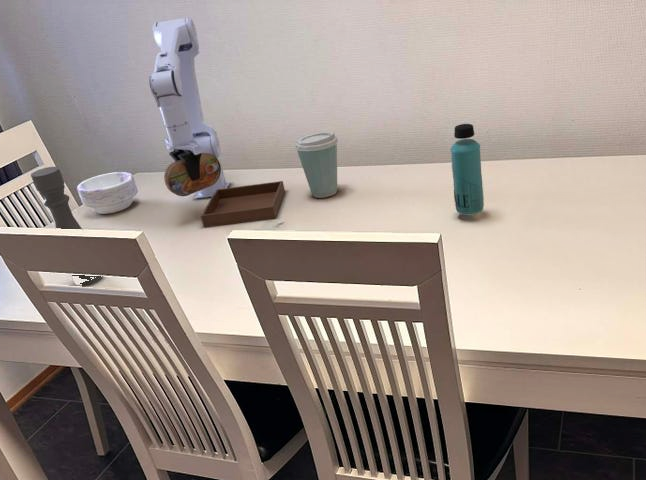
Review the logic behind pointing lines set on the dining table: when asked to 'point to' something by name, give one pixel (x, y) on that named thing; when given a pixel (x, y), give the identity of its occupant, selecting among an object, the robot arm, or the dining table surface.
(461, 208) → the beverage bottle
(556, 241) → the dining table surface
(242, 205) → the tray
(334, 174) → the disposable coffee cup
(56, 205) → the candle holder
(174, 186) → the tin
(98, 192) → the paper bowls
